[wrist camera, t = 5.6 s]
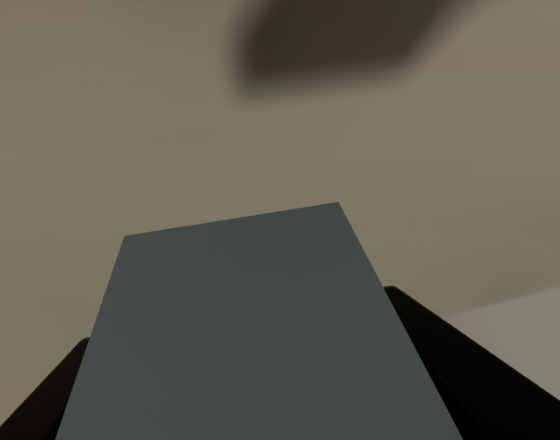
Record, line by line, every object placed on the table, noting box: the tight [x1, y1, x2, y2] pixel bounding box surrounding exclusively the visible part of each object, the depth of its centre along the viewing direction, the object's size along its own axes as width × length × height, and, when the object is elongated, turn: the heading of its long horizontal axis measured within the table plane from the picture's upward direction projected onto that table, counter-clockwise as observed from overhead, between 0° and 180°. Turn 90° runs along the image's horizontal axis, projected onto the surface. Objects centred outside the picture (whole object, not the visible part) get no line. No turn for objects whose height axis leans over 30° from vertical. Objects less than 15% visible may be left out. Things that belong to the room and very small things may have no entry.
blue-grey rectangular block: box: [55, 202, 463, 440], centre depth 7 cm, size 5×2×8 cm, turn 96°
